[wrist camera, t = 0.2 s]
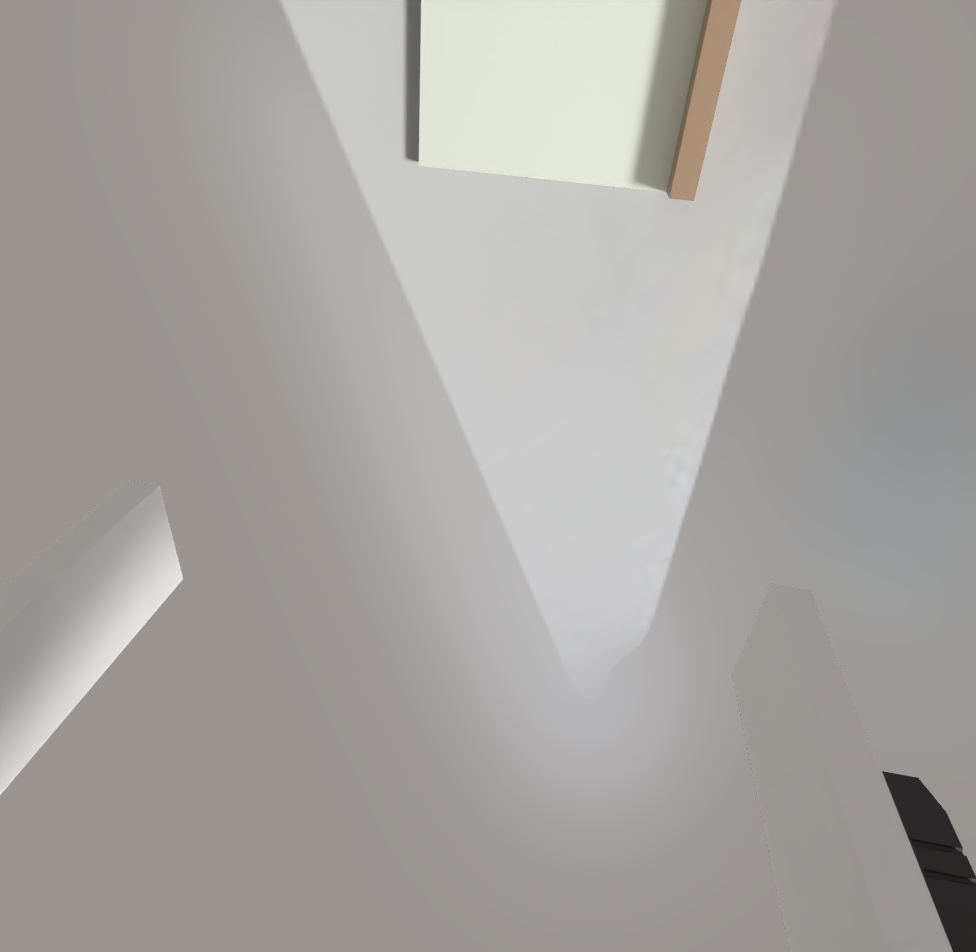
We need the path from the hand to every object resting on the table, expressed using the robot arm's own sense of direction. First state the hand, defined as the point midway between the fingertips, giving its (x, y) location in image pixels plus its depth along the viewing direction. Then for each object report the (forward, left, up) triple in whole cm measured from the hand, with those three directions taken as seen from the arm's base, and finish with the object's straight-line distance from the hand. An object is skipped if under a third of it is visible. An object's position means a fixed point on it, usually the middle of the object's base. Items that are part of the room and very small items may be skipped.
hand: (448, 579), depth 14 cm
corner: (-12, -1, -28) cm, 30 cm away
